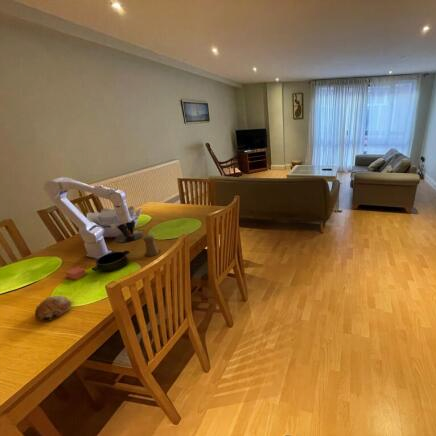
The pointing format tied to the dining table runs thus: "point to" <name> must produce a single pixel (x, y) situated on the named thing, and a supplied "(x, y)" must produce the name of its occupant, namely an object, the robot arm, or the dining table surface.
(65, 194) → the robot arm
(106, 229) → the decorative bowl
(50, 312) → the bread roll
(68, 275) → the reddish pink block
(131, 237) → the pan lid
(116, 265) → the pan
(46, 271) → the dining table surface
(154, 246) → the cork
